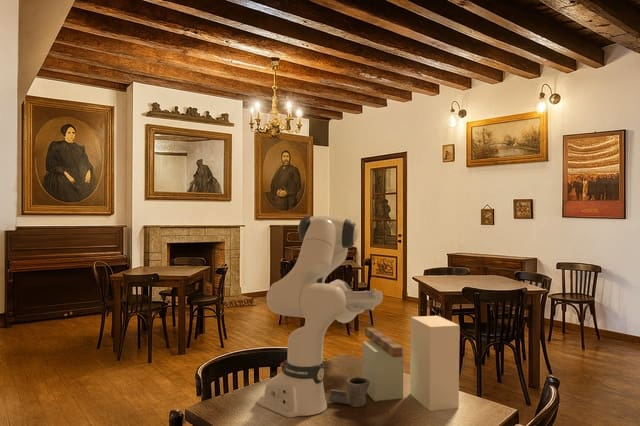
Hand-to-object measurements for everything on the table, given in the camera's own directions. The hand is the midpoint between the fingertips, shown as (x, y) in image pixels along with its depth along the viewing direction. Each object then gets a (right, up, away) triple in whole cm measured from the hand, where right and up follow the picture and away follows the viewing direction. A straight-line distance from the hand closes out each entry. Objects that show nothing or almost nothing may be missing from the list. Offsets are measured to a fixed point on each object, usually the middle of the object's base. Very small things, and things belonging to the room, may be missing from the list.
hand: (362, 291), depth 176 cm
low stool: (+5, -31, -20) cm, 37 cm away
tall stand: (+21, -31, -26) cm, 46 cm away
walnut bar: (+5, -15, -19) cm, 25 cm away
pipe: (-7, -31, -30) cm, 44 cm away
